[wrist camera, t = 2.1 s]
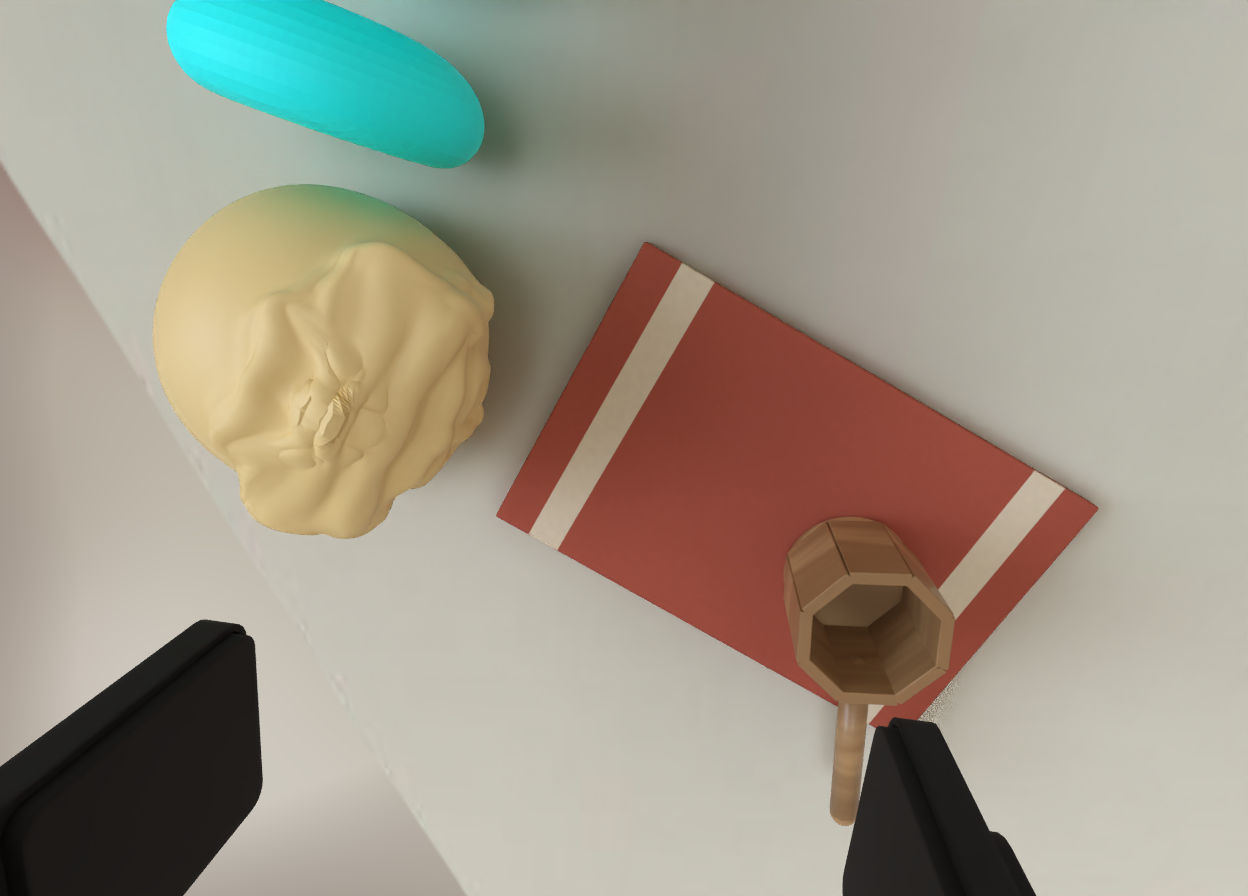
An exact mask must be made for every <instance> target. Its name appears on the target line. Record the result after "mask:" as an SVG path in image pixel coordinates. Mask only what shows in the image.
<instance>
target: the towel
mask: <svg viewBox="0 0 1248 896" xmlns="http://www.w3.org/2000/svg"><path fill="white" fill-rule="evenodd" d="M1097 510H1098V507H1097V506H1095V505H1094V504H1093V503H1091V502H1090V501H1088V500H1086V499H1085V498H1083V497H1081V496H1080V495H1078V494H1076V493H1074V492H1073V491H1071V490H1069V489H1068V488H1066V487H1064V486H1062V485H1061V484H1059V483H1057V482H1056V481H1054V480H1052V479H1051V478H1049V477H1047V476H1046V475H1044V474H1042V473H1040V472H1039V471H1037V470H1035V469H1034V468H1032V467H1030V466H1028V465H1027V464H1025V463H1023V462H1022V461H1020V460H1018V459H1016V458H1015V457H1013V456H1011V455H1010V454H1008V453H1006V452H1005V451H1003V450H1001V449H999V448H998V447H996V446H994V445H993V444H991V443H989V442H988V441H986V440H984V439H982V438H981V437H979V436H977V435H976V434H974V433H972V432H970V431H969V430H967V429H965V428H964V427H962V426H960V425H959V424H957V423H955V422H953V421H952V420H950V419H948V418H947V417H945V416H943V415H942V414H940V413H938V412H936V411H935V410H933V409H931V408H930V407H928V406H926V405H924V404H923V403H921V402H919V401H918V400H916V399H914V398H913V397H911V396H909V395H907V394H906V393H904V392H902V391H901V390H899V389H897V388H895V387H894V386H892V385H890V384H889V383H887V382H885V381H884V380H882V379H880V378H878V377H877V376H875V375H873V374H872V373H870V372H868V371H867V370H865V369H863V368H861V367H860V366H858V365H856V364H855V363H853V362H851V361H849V360H848V359H846V358H844V357H843V356H841V355H839V354H838V353H836V352H834V351H832V350H831V349H829V348H827V347H826V346H824V345H822V344H821V343H819V342H817V341H815V340H814V339H812V338H810V337H809V336H807V335H805V334H803V333H802V332H800V331H798V330H797V329H795V328H793V327H792V326H790V325H788V324H786V323H785V322H783V321H781V320H780V319H778V318H776V317H775V316H773V315H771V314H769V313H768V312H766V311H764V310H763V309H761V308H759V307H757V306H756V305H754V304H752V303H751V302H749V301H747V300H746V299H744V298H742V297H740V296H739V295H737V294H735V293H734V292H732V291H730V290H728V289H727V288H725V287H723V286H722V285H720V284H718V283H717V282H715V281H713V280H712V279H710V278H708V277H706V276H705V275H703V274H701V273H700V272H698V271H696V270H694V269H693V268H691V267H689V266H688V265H686V264H684V263H682V262H681V261H679V260H677V259H676V258H674V257H672V256H671V255H669V254H667V253H665V252H664V251H662V250H660V249H659V248H657V247H655V246H654V245H652V244H650V243H648V242H645V243H644V244H643V246H642V248H641V249H640V251H639V253H638V255H637V257H636V259H635V260H634V262H633V264H632V266H631V268H630V270H629V271H628V273H627V275H626V277H625V279H624V281H623V283H622V284H621V286H620V288H619V290H618V292H617V294H616V295H615V297H614V299H613V301H612V303H611V305H610V306H609V308H608V310H607V312H606V314H605V316H604V317H603V319H602V321H601V323H600V325H599V327H598V328H597V330H596V332H595V334H594V336H593V338H592V340H591V341H590V343H589V345H588V347H587V349H586V351H585V352H584V354H583V356H582V358H581V360H580V362H579V363H578V365H577V367H576V369H575V371H574V373H573V374H572V376H571V378H570V380H569V382H568V384H567V386H566V387H565V389H564V391H563V393H562V395H561V397H560V398H559V400H558V402H557V404H556V406H555V408H554V409H553V411H552V413H551V415H550V417H549V419H548V420H547V422H546V424H545V426H544V428H543V430H542V431H541V433H540V435H539V437H538V439H537V441H536V443H535V444H534V446H533V448H532V450H531V452H530V454H529V455H528V457H527V459H526V461H525V463H524V465H523V466H522V468H521V470H520V472H519V474H518V476H517V477H516V479H515V481H514V483H513V485H512V487H511V489H510V490H509V492H508V494H507V496H506V498H505V500H504V501H503V503H502V505H501V507H500V509H499V511H498V512H497V514H496V516H497V517H499V518H500V519H502V520H504V521H506V522H507V523H509V524H511V525H513V526H515V527H516V528H518V529H520V530H522V531H524V532H525V533H527V534H529V535H530V536H532V537H534V538H536V539H537V540H539V541H541V542H543V543H545V544H546V545H548V546H550V547H552V548H554V549H555V550H558V551H559V552H561V553H563V554H565V555H567V556H568V557H570V558H572V559H574V560H576V561H577V562H579V563H581V564H583V565H585V566H586V567H588V568H590V569H592V570H594V571H595V572H597V573H599V574H601V575H603V576H604V577H606V578H608V579H610V580H611V581H613V582H615V583H617V584H619V585H620V586H622V587H624V588H626V589H628V590H629V591H631V592H633V593H635V594H637V595H638V596H640V597H642V598H644V599H646V600H647V601H649V602H651V603H653V604H655V605H656V606H658V607H660V608H662V609H664V610H665V611H667V612H669V613H671V614H672V615H674V616H676V617H678V618H680V619H681V620H683V621H685V622H687V623H689V624H690V625H692V626H694V627H696V628H698V629H699V630H701V631H703V632H705V633H707V634H708V635H710V636H712V637H714V638H716V639H717V640H719V641H721V642H723V643H724V644H726V645H728V646H730V647H732V648H733V649H735V650H737V651H739V652H741V653H742V654H744V655H746V656H748V657H750V658H751V659H753V660H755V661H757V662H759V663H760V664H762V665H764V666H766V667H768V668H769V669H771V670H773V671H775V672H776V673H778V674H780V675H782V676H784V677H785V678H787V679H789V680H791V681H793V682H794V683H796V684H798V685H800V686H802V687H803V688H805V689H807V690H809V691H811V692H812V693H814V694H816V695H818V696H820V697H821V698H823V699H825V700H827V701H828V702H830V703H832V704H834V705H836V706H837V707H838V703H839V700H838V701H835V700H834V699H833V698H832V697H831V696H830V695H829V694H828V693H827V692H826V691H825V690H824V689H823V688H822V687H821V686H820V685H818V684H817V683H816V682H815V681H814V680H813V679H812V678H811V677H810V676H809V675H808V674H807V673H806V672H805V671H804V670H803V669H802V668H801V667H800V666H799V665H798V662H797V661H796V656H795V651H794V646H793V642H792V637H791V632H790V627H789V623H788V618H787V613H786V608H785V604H784V565H785V562H786V555H788V552H789V551H790V549H791V548H792V546H793V545H794V543H795V542H796V541H797V540H798V538H799V537H801V536H802V535H803V534H804V533H805V532H806V531H808V530H809V529H810V528H812V527H814V526H815V525H817V524H819V523H821V522H824V521H826V520H830V519H834V518H839V517H862V518H866V519H870V520H873V521H876V522H881V524H882V523H884V524H885V525H886V526H887V527H888V528H889V529H891V530H892V531H893V532H894V533H895V534H897V535H898V537H899V538H900V539H901V540H902V541H903V543H904V544H905V545H906V546H907V547H908V548H909V549H910V550H911V551H912V552H913V553H914V554H915V555H916V556H917V558H918V559H919V561H920V563H921V564H922V566H923V567H924V569H925V570H926V572H927V573H928V575H929V577H930V578H931V580H932V581H933V583H934V584H935V586H936V587H937V589H938V590H939V592H940V594H941V595H942V597H943V598H944V600H945V601H946V603H947V604H948V606H949V608H950V609H951V611H952V612H953V614H954V617H955V624H954V632H953V639H952V647H951V654H950V662H949V669H948V670H946V673H945V674H944V675H942V676H941V677H939V678H938V679H937V680H935V681H934V682H932V683H931V684H929V685H928V686H927V687H925V688H924V689H922V690H921V691H920V692H918V693H917V694H915V695H914V696H912V697H911V698H910V699H908V700H907V701H905V702H904V703H903V704H899V703H898V704H897V706H891V705H873V704H869V705H868V715H867V724H870V725H872V726H873V727H875V728H877V727H878V726H886V727H888V725H889V722H890V721H891V719H892V718H894V717H897V718H904V719H911V720H918V718H919V717H920V716H921V715H922V714H923V713H924V711H925V710H926V709H927V708H928V707H929V706H930V704H931V703H932V702H933V701H934V700H935V699H936V697H937V696H938V695H939V694H940V693H941V692H942V690H943V689H944V688H945V687H946V686H947V685H948V684H949V682H950V681H951V680H952V679H953V678H954V677H955V675H956V674H957V673H958V672H959V671H960V670H961V668H962V667H963V666H964V665H965V664H966V663H967V661H968V660H969V659H970V658H971V657H972V656H973V654H974V653H975V652H976V651H977V650H978V649H979V648H980V646H981V645H982V644H983V643H984V642H985V641H986V639H987V638H988V637H989V636H990V635H991V634H992V632H993V631H994V630H995V629H996V628H997V627H998V625H999V624H1000V623H1001V622H1002V621H1003V620H1004V618H1005V617H1006V616H1007V615H1008V614H1009V613H1010V612H1011V610H1012V609H1013V608H1014V607H1015V606H1016V605H1017V603H1018V602H1019V601H1020V600H1021V599H1022V598H1023V596H1024V595H1025V594H1026V593H1027V592H1028V591H1029V589H1030V588H1031V587H1032V586H1033V585H1034V584H1035V582H1036V581H1037V580H1038V579H1039V578H1040V577H1041V576H1042V574H1043V573H1044V572H1045V571H1046V570H1047V569H1048V567H1049V566H1050V565H1051V564H1052V563H1053V562H1054V560H1055V559H1056V558H1057V557H1058V556H1059V555H1060V553H1061V552H1062V551H1063V550H1064V549H1065V548H1066V546H1067V545H1068V544H1069V543H1070V542H1071V541H1072V540H1073V538H1074V537H1075V536H1076V535H1077V534H1078V533H1079V531H1080V530H1081V529H1082V528H1083V527H1084V526H1085V524H1086V523H1087V522H1088V521H1089V520H1090V519H1091V517H1092V516H1093V515H1094V514H1095V513H1096V512H1097Z"/></svg>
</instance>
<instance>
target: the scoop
mask: <svg viewBox="0 0 1248 896" xmlns="http://www.w3.org/2000/svg"><path fill="white" fill-rule="evenodd" d="M784 604H785V608H786V613H787V618H788V623H789V627H790V632H791V637H792V642H793V646H794V651H795V656H796V661H797V662H798V665H799V666H800V667H801V668H802V669H803V670H804V671H805V672H806V673H807V674H808V675H809V676H810V677H811V678H812V679H813V680H814V681H815V682H816V683H817V684H818V685H820V686H821V687H822V688H823V689H824V690H825V691H826V692H827V693H828V694H829V695H830V696H831V697H832V698H833V699H834V700H835V701H838V700H839V703H838V715H837V727H836V739H835V751H834V763H833V774H832V786H831V798H830V814H831V816H832V818H833V820H834V821H835V822H836V823H838V824H839V825H842V826H849V825H851V824H853V823H854V822H855V819H856V815H857V810H858V805H859V797H860V787H861V776H862V766H863V756H864V746H865V735H866V725H867V715H868V705H869V704H873V705H891V706H897V704H898V703H899V704H903V703H904V702H905V701H907V700H908V699H910V698H911V697H912V696H914V695H915V694H917V693H918V692H920V691H921V690H922V689H924V688H925V687H927V686H928V685H929V684H931V683H932V682H934V681H935V680H937V679H938V678H939V677H941V676H942V675H944V674H945V673H946V670H948V669H949V662H950V654H951V647H952V639H953V632H954V624H955V617H954V614H953V612H952V611H951V609H950V608H949V606H948V604H947V603H946V601H945V600H944V598H943V597H942V595H941V594H940V592H939V590H938V589H937V587H936V586H935V584H934V583H933V581H932V580H931V578H930V577H929V575H928V573H927V572H926V570H925V569H924V567H923V566H922V564H921V563H920V561H919V559H918V558H917V556H916V555H915V554H914V553H913V552H912V551H911V550H910V549H909V548H908V547H907V546H906V545H905V544H904V543H903V541H902V540H901V539H900V538H899V537H898V535H897V534H895V533H894V532H893V531H892V530H891V529H889V528H888V527H887V526H886V525H885V524H884V523H882V524H881V522H876V521H873V520H870V519H866V518H862V517H839V518H834V519H830V520H826V521H824V522H821V523H819V524H817V525H815V526H814V527H812V528H810V529H809V530H808V531H806V532H805V533H804V534H803V535H802V536H801V537H799V538H798V540H797V541H796V542H795V543H794V545H793V546H792V548H791V549H790V551H789V552H788V555H786V562H785V565H784Z"/></svg>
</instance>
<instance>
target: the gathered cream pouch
mask: <svg viewBox="0 0 1248 896" xmlns="http://www.w3.org/2000/svg"><path fill="white" fill-rule="evenodd" d="M493 313H494V297H493V295H492V293H491V292H490V291H489V290H488V289H487V288H486V287H484V286H483V285H481V284H480V283H479V282H478V281H477V279H476V278H475V277H474V276H473V275H472V274H471V272H470V271H469V269H468V268H467V266H466V265H465V264H464V262H463V261H462V260H461V259H460V258H459V257H458V255H457V254H456V253H455V252H454V251H453V250H452V249H451V248H450V247H449V246H448V245H446V244H445V243H444V242H443V241H442V240H441V239H440V238H438V237H437V236H436V235H435V234H434V233H432V232H431V231H430V230H429V229H427V228H426V227H425V226H424V225H422V224H421V223H420V222H418V221H417V220H415V219H414V218H412V217H411V216H409V215H407V214H406V213H404V212H402V211H401V210H399V209H397V208H395V207H393V206H391V205H389V204H387V203H385V202H382V201H380V200H378V199H375V198H373V197H370V196H367V195H364V194H361V193H358V192H355V191H351V190H347V189H343V188H338V187H332V186H324V185H311V184H299V185H286V186H279V187H274V188H269V189H265V190H262V191H259V192H256V193H253V194H250V195H248V196H245V197H243V198H241V199H239V200H237V201H235V202H233V203H231V204H230V205H228V206H226V207H225V208H223V209H222V210H220V211H219V212H217V213H216V214H215V215H213V216H212V217H211V218H209V219H208V220H207V221H206V222H205V223H204V224H203V225H201V226H200V227H199V228H198V229H197V230H196V231H195V232H194V234H193V235H192V236H191V237H190V238H189V239H188V240H187V242H186V243H185V244H184V245H183V247H182V248H181V250H180V251H179V252H178V254H177V255H176V257H175V259H174V260H173V262H172V264H171V265H170V267H169V269H168V271H167V273H166V275H165V278H164V280H163V283H162V285H161V288H160V291H159V294H158V298H157V302H156V307H155V313H154V321H153V348H154V356H155V362H156V367H157V371H158V375H159V378H160V381H161V384H162V387H163V390H164V392H165V394H166V396H167V398H168V400H169V402H170V404H171V406H172V408H173V409H174V411H175V413H176V414H177V416H178V417H179V419H180V420H181V422H182V423H183V424H184V426H185V427H186V428H187V429H188V431H189V432H190V433H191V434H192V435H193V436H194V437H195V438H196V440H197V441H198V442H199V443H200V444H201V445H202V446H204V447H205V448H206V449H207V450H208V451H209V452H210V453H211V454H213V455H214V456H215V457H216V458H218V459H219V460H220V461H222V462H223V463H225V464H226V465H227V466H229V467H230V468H231V469H233V470H234V471H236V472H237V473H238V477H239V481H240V498H241V500H242V502H243V503H244V504H245V506H246V508H247V510H248V512H249V513H250V515H251V516H252V517H253V518H254V519H255V520H256V521H257V522H259V523H260V524H262V525H264V526H266V527H268V528H271V529H274V530H277V531H281V532H286V533H292V534H300V535H318V534H326V535H329V536H332V537H335V538H341V539H349V538H356V537H359V536H362V535H364V534H366V533H368V532H370V531H371V530H373V529H374V528H375V527H376V526H378V525H379V524H380V523H382V522H383V521H384V520H385V519H386V517H387V515H388V513H389V510H390V509H391V507H392V504H393V501H394V499H395V497H396V496H398V495H400V494H401V493H403V492H405V491H407V490H409V489H415V488H420V487H422V486H424V485H425V484H427V483H428V482H429V481H430V480H431V479H432V478H433V477H434V476H435V475H436V474H437V473H438V472H439V471H440V470H441V468H442V467H443V466H444V465H445V463H446V462H447V461H448V460H449V458H450V457H451V456H452V454H453V453H454V451H455V450H456V449H457V448H458V446H459V445H460V444H461V443H462V442H463V441H465V440H467V439H468V438H469V437H470V436H471V435H472V434H473V433H474V431H475V427H477V426H478V425H480V423H481V422H482V420H483V418H484V409H483V406H482V405H481V404H482V402H483V401H484V399H485V396H486V393H487V390H488V384H489V378H490V363H489V360H488V348H489V325H488V322H489V320H490V319H491V318H492V316H493Z"/></svg>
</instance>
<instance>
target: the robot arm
mask: <svg viewBox="0 0 1248 896" xmlns="http://www.w3.org/2000/svg"><path fill="white" fill-rule="evenodd" d="M260 743H261V742H260V725H259V707H258V691H257V673H256V655H255V644H254V640H253V639H252V637H250V636H248V635H246V631H245V629H244V627H243V626H241V625H239V624H233V623H226V622H219V621H212V620H200V621H198V622H196V623H194V624H193V625H192V626H190V627H189V628H188V629H186V630H185V631H184V632H182V633H181V634H179V635H178V636H177V637H175V638H174V639H173V640H171V641H170V642H169V643H167V644H166V645H164V646H163V647H162V648H160V649H159V650H158V651H156V652H155V653H154V654H152V655H151V656H150V657H148V658H147V659H146V660H144V661H143V662H141V663H140V664H139V665H137V666H136V667H135V668H133V669H132V670H131V671H129V672H128V673H126V674H125V675H124V676H123V677H121V678H120V679H118V680H117V681H116V682H114V683H113V684H112V685H110V686H109V687H108V688H106V689H105V690H104V691H102V692H101V693H99V694H98V695H97V696H95V697H94V698H93V699H91V700H90V701H89V702H87V703H86V704H85V705H83V706H82V707H80V708H79V709H78V710H76V711H75V712H74V713H72V714H71V715H70V716H68V717H67V718H66V719H64V720H63V721H61V722H60V723H59V724H58V725H56V726H55V727H53V728H52V729H51V730H49V731H48V732H47V733H45V734H44V735H43V736H41V737H40V738H38V739H37V740H36V741H34V742H33V743H32V744H30V745H29V746H28V747H26V748H25V749H24V750H22V751H21V752H20V753H18V754H17V755H15V756H14V757H13V758H11V759H10V760H9V761H7V762H6V763H5V764H3V765H2V766H1V767H0V896H183V895H184V894H185V893H186V891H187V890H188V889H189V888H190V886H191V885H192V884H193V883H194V882H195V880H196V879H197V878H198V877H199V875H200V874H201V873H202V872H203V870H204V869H205V868H206V867H207V865H208V864H209V863H210V862H211V860H212V859H213V858H214V856H215V855H216V854H217V853H218V852H219V850H220V849H221V848H222V847H223V845H224V844H225V843H226V842H227V840H228V839H229V838H230V837H231V835H232V834H233V833H234V832H235V830H236V829H237V828H238V827H239V825H240V824H241V823H242V822H243V820H244V819H245V818H246V817H247V816H248V814H249V813H250V812H251V810H252V809H253V808H254V806H255V805H256V803H257V801H258V799H259V796H260V793H261V789H262V782H263V777H262V762H261V761H262V760H261V745H260ZM843 896H1036V894H1035V893H1034V891H1033V889H1032V887H1031V885H1030V883H1029V881H1028V879H1027V877H1026V875H1025V873H1024V871H1023V869H1022V867H1021V865H1020V863H1019V861H1018V859H1017V858H1016V856H1015V854H1014V852H1013V850H1012V848H1011V846H1010V845H1009V843H1008V842H1007V840H1006V839H1005V837H1003V836H1002V835H1000V834H999V833H998V832H991V831H989V829H988V827H987V825H986V823H985V821H984V819H983V817H982V815H981V813H980V811H979V808H978V806H977V804H976V802H975V800H974V798H973V796H972V794H971V792H970V790H969V788H968V786H967V784H966V782H965V780H964V778H963V776H962V774H961V772H960V770H959V768H958V766H957V764H956V762H955V760H954V758H953V756H952V754H951V752H950V750H949V748H948V745H947V743H946V741H945V739H944V737H943V735H942V733H941V731H940V729H939V728H938V726H937V725H936V724H935V723H933V722H926V721H919V720H911V719H904V718H897V717H894V718H892V719H891V721H890V722H889V725H888V727H886V726H878V727H877V728H876V730H875V733H874V737H873V742H872V746H871V751H870V755H869V760H868V765H867V769H866V774H865V778H864V783H863V787H862V792H861V796H860V801H859V805H858V810H857V815H856V819H855V824H854V828H853V833H852V837H851V842H850V846H849V851H848V856H847V860H846V865H845V869H844V875H843Z"/></svg>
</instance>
